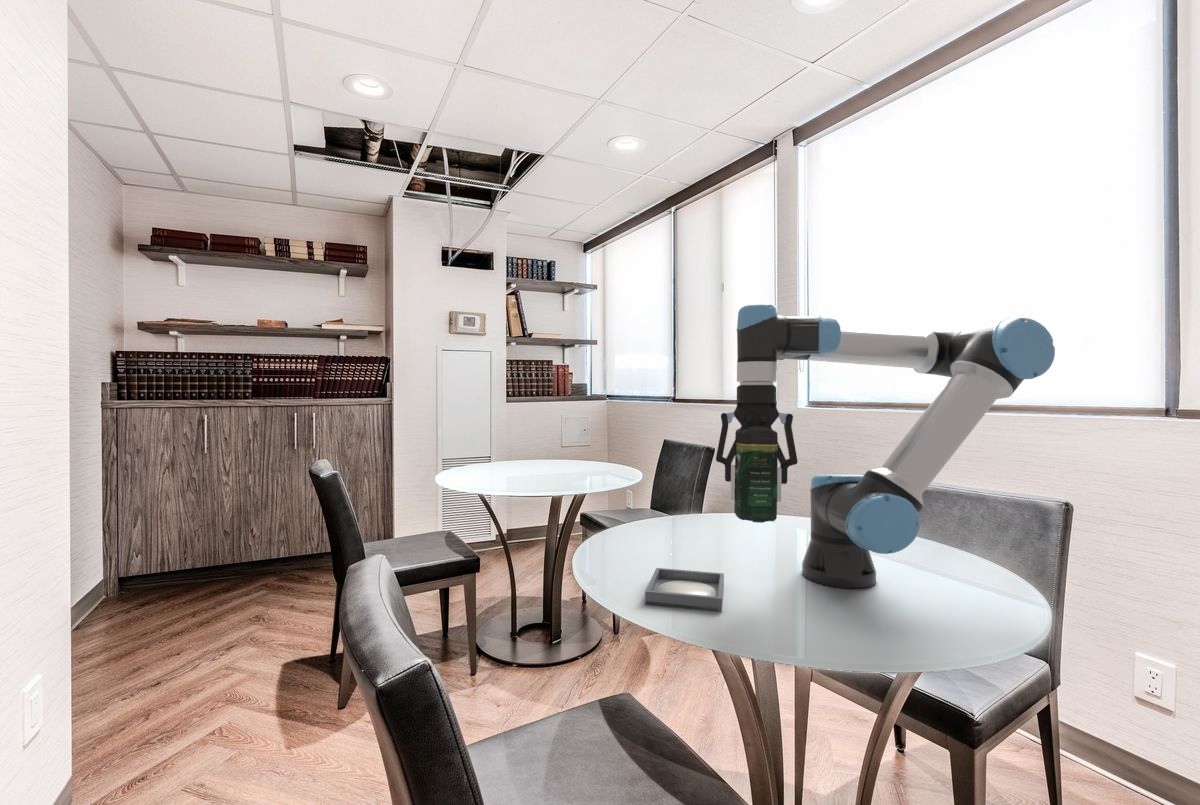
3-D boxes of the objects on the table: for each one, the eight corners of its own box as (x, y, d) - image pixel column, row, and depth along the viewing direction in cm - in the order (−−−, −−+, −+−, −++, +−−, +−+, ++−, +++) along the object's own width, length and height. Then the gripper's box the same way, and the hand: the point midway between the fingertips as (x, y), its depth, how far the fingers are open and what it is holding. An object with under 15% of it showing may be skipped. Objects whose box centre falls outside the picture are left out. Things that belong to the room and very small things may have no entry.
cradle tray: (723, 584, 114) (723, 573, 114) (721, 611, 100) (721, 598, 100) (656, 578, 118) (656, 567, 118) (645, 604, 104) (645, 591, 104)
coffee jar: (781, 524, 100) (782, 426, 100) (738, 523, 101) (739, 425, 101) (771, 513, 110) (771, 423, 109) (731, 512, 111) (732, 422, 110)
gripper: (810, 384, 106) (809, 498, 106) (703, 384, 111) (703, 493, 112) (815, 383, 99) (814, 505, 99) (701, 383, 104) (700, 500, 104)
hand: (755, 499), depth 105 cm, fingers closed on coffee jar, 8 cm apart
